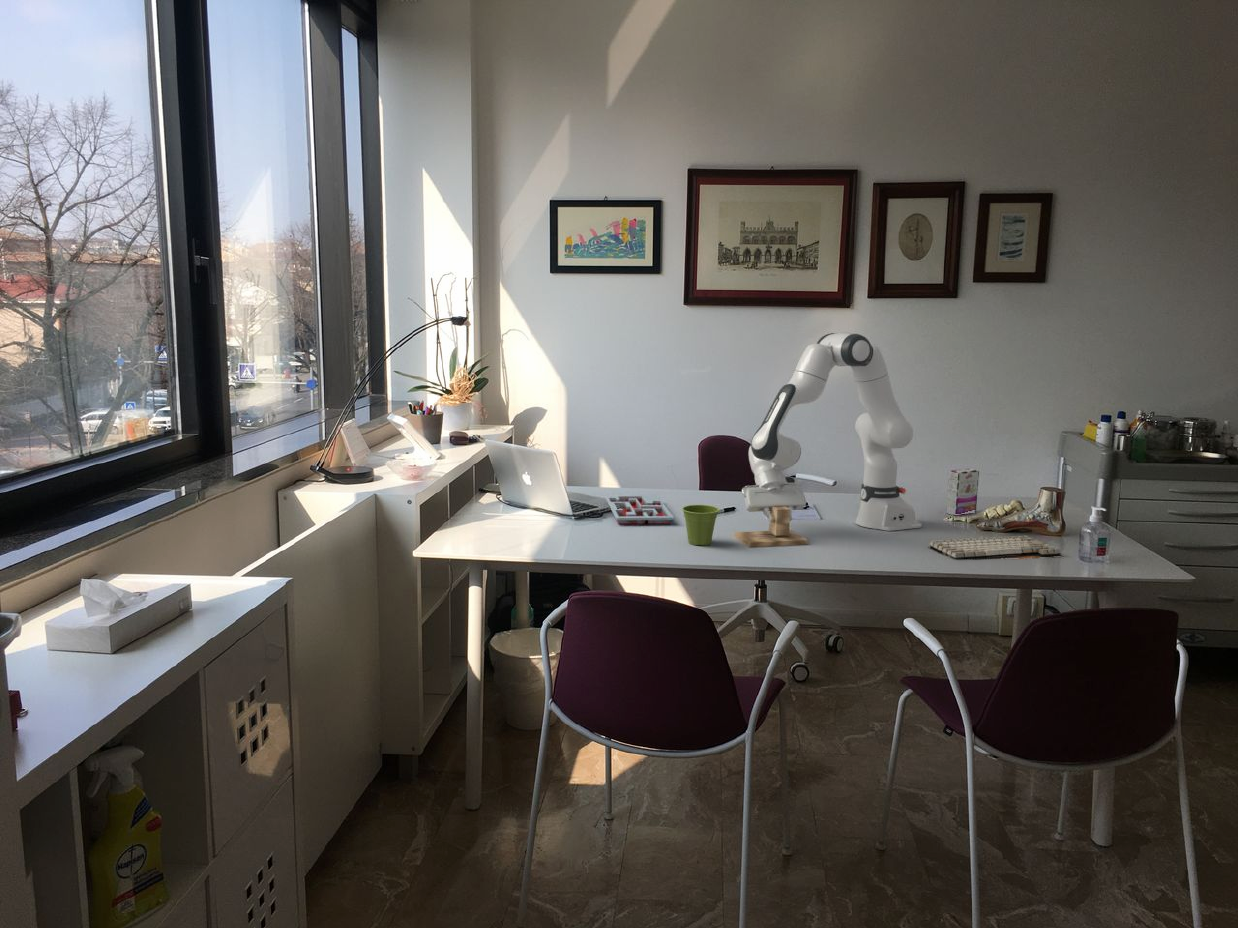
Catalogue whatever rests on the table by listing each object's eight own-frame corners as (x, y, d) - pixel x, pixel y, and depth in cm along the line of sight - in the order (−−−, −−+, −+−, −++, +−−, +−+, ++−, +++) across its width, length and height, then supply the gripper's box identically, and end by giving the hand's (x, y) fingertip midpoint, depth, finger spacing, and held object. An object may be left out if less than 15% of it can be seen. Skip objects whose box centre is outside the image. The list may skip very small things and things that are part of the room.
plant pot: (689, 536, 316) (690, 502, 314) (723, 541, 311) (725, 507, 308) (674, 544, 306) (675, 509, 303) (709, 550, 300) (710, 514, 298)
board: (790, 534, 322) (790, 529, 322) (807, 544, 310) (807, 539, 309) (734, 536, 317) (734, 532, 317) (749, 547, 304) (749, 542, 304)
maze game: (673, 526, 330) (674, 517, 329) (616, 526, 327) (616, 517, 327) (657, 503, 364) (657, 495, 363) (605, 503, 361) (605, 495, 361)
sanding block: (781, 532, 317) (783, 505, 316) (788, 536, 312) (790, 509, 310) (768, 532, 316) (770, 505, 314) (775, 537, 311) (777, 509, 309)
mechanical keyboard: (959, 564, 293) (960, 553, 293) (923, 548, 311) (924, 538, 311) (1064, 558, 303) (1065, 548, 303) (1024, 543, 322) (1025, 533, 321)
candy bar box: (965, 510, 364) (969, 467, 361) (976, 513, 360) (980, 470, 357) (944, 513, 358) (948, 469, 355) (955, 516, 354) (959, 472, 351)
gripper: (743, 480, 314) (753, 516, 307) (801, 478, 320) (813, 514, 312) (737, 491, 320) (747, 527, 312) (794, 488, 325) (806, 524, 317)
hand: (780, 520), depth 312 cm, fingers closed on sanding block, 5 cm apart
